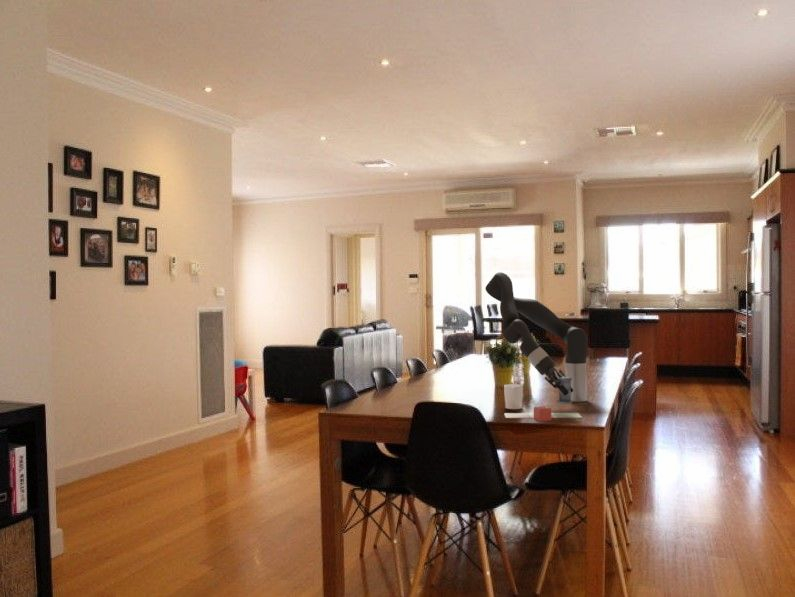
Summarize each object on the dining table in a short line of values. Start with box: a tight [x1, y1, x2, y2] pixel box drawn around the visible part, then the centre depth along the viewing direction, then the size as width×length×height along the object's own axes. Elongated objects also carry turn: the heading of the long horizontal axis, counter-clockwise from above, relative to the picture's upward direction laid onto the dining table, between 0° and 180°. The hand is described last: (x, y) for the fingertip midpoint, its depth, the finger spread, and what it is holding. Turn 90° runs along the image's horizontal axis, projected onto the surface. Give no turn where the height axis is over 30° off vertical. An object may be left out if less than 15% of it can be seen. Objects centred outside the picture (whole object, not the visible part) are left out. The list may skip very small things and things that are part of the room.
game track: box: [503, 412, 583, 419], centre depth 273 cm, size 10×30×1 cm, turn 85°
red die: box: [533, 405, 552, 422], centre depth 264 cm, size 5×5×6 cm
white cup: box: [503, 383, 523, 410], centre depth 292 cm, size 8×8×10 cm
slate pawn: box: [556, 377, 573, 405], centre depth 273 cm, size 6×6×10 cm
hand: (569, 393), depth 272 cm, fingers closed on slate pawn, 4 cm apart
